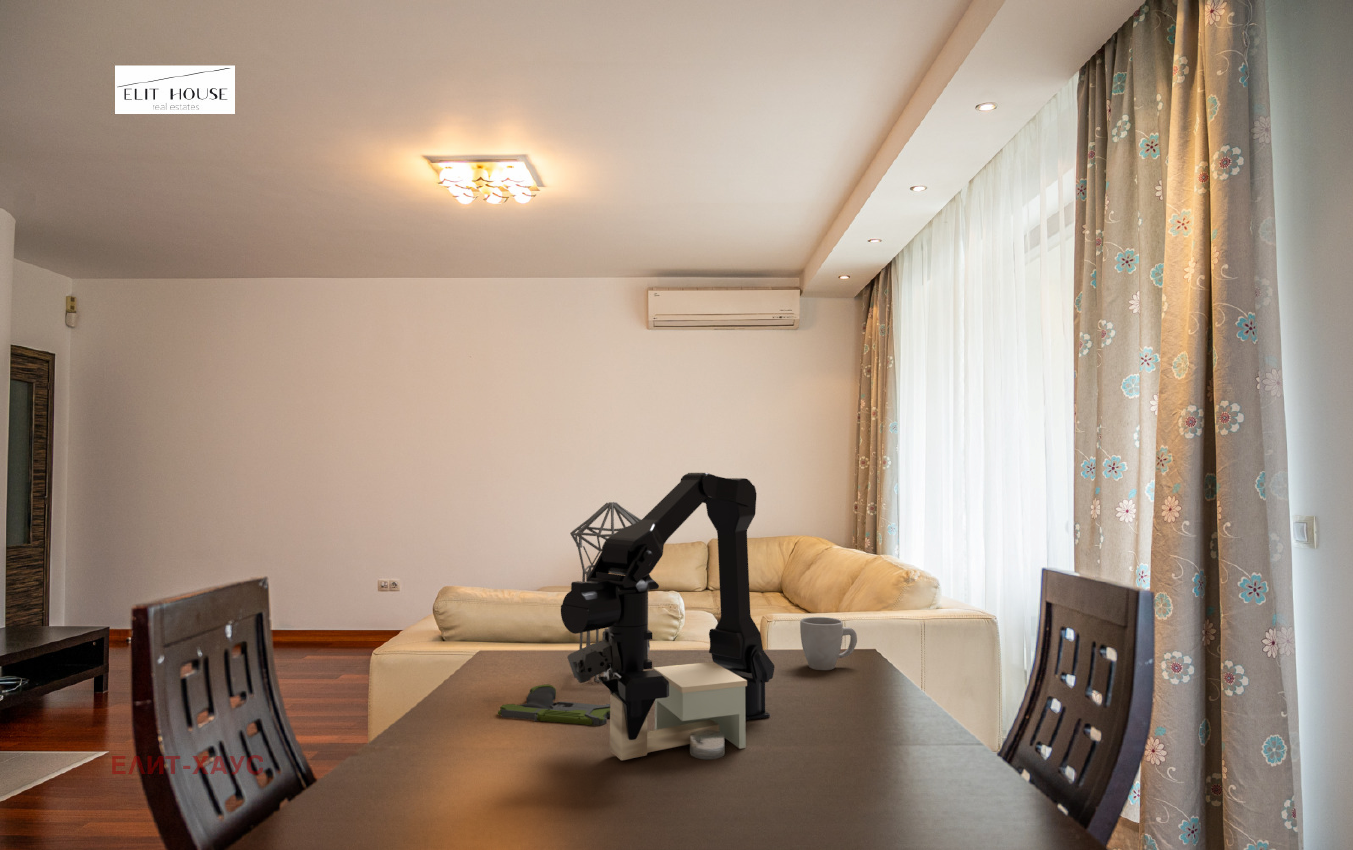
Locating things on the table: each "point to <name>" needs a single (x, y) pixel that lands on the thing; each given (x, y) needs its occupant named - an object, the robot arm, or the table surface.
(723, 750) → the cylinder
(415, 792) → the table surface
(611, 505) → the geometric lantern
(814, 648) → the mug
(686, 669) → the pale green stool
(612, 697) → the wooden l-shaped block
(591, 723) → the gun
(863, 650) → the table surface
